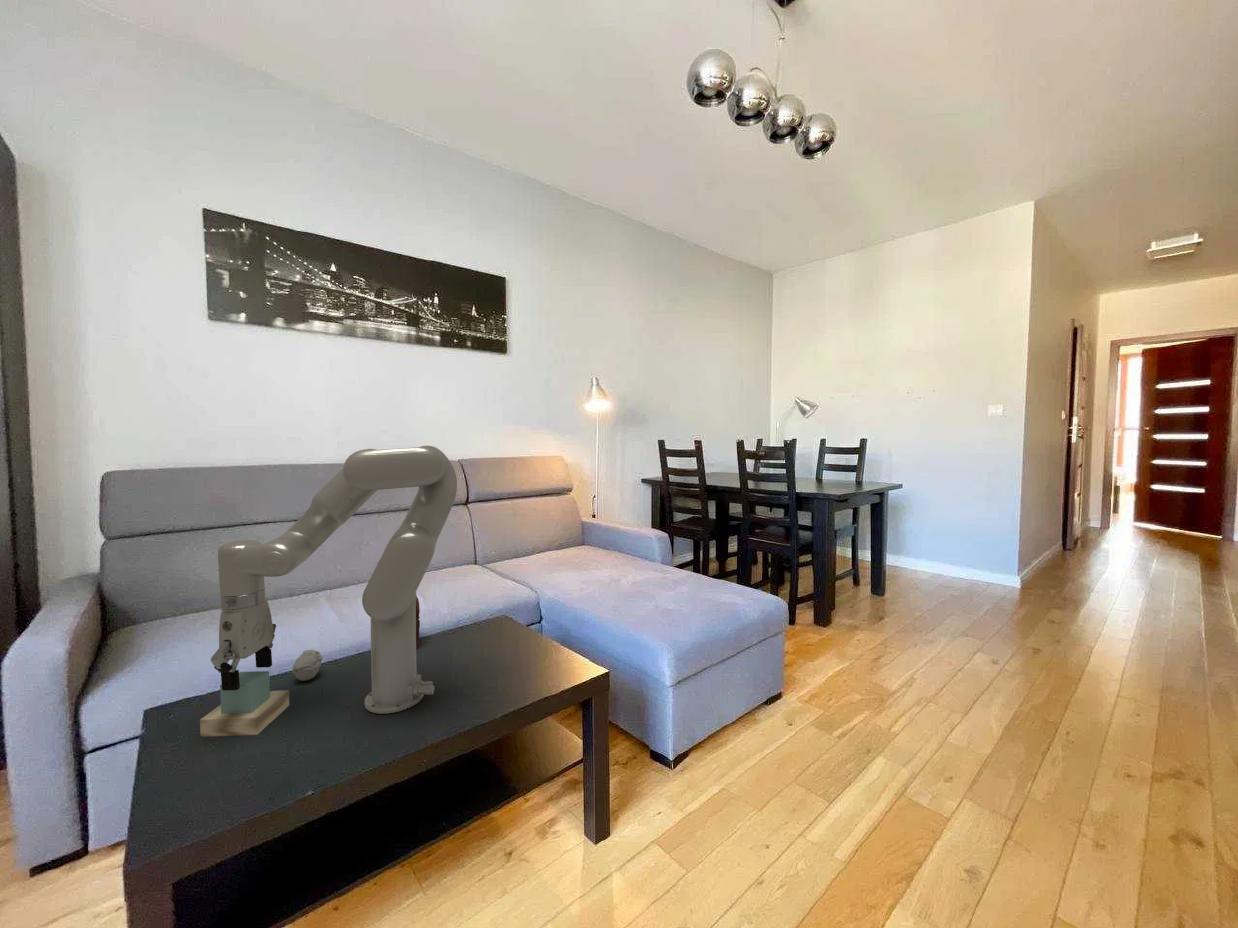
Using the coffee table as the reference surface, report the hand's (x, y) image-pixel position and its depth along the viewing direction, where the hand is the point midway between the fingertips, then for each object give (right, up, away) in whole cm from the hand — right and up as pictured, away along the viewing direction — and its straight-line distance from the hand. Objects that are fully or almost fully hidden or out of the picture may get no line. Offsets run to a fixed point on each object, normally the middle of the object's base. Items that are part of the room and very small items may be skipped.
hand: (248, 677), depth 106 cm
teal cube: (0, -6, 0) cm, 6 cm away
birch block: (-1, -10, +1) cm, 10 cm away
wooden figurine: (+17, -7, +39) cm, 43 cm away
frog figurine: (+1, -9, +18) cm, 20 cm away
